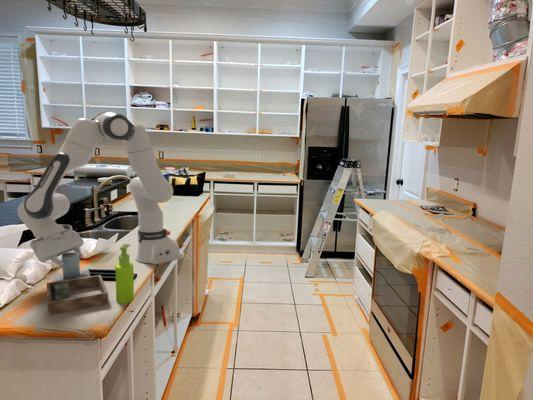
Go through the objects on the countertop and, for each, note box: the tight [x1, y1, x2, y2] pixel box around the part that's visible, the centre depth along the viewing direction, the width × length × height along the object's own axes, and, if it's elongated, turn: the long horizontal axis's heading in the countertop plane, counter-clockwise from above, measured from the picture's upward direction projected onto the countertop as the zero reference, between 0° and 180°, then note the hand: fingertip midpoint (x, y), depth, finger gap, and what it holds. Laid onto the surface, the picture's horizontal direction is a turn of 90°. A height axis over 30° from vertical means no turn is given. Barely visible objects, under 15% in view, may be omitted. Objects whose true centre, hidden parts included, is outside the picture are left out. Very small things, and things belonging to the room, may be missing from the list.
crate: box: [46, 274, 109, 316], centre depth 128 cm, size 18×18×4 cm
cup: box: [61, 251, 81, 279], centre depth 142 cm, size 6×6×9 cm
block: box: [54, 283, 70, 301], centre depth 129 cm, size 4×4×4 cm
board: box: [52, 269, 91, 282], centre depth 143 cm, size 13×9×2 cm
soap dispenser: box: [115, 243, 135, 304], centre depth 128 cm, size 6×7×20 cm
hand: (72, 261), depth 142 cm, fingers open, 8 cm apart
